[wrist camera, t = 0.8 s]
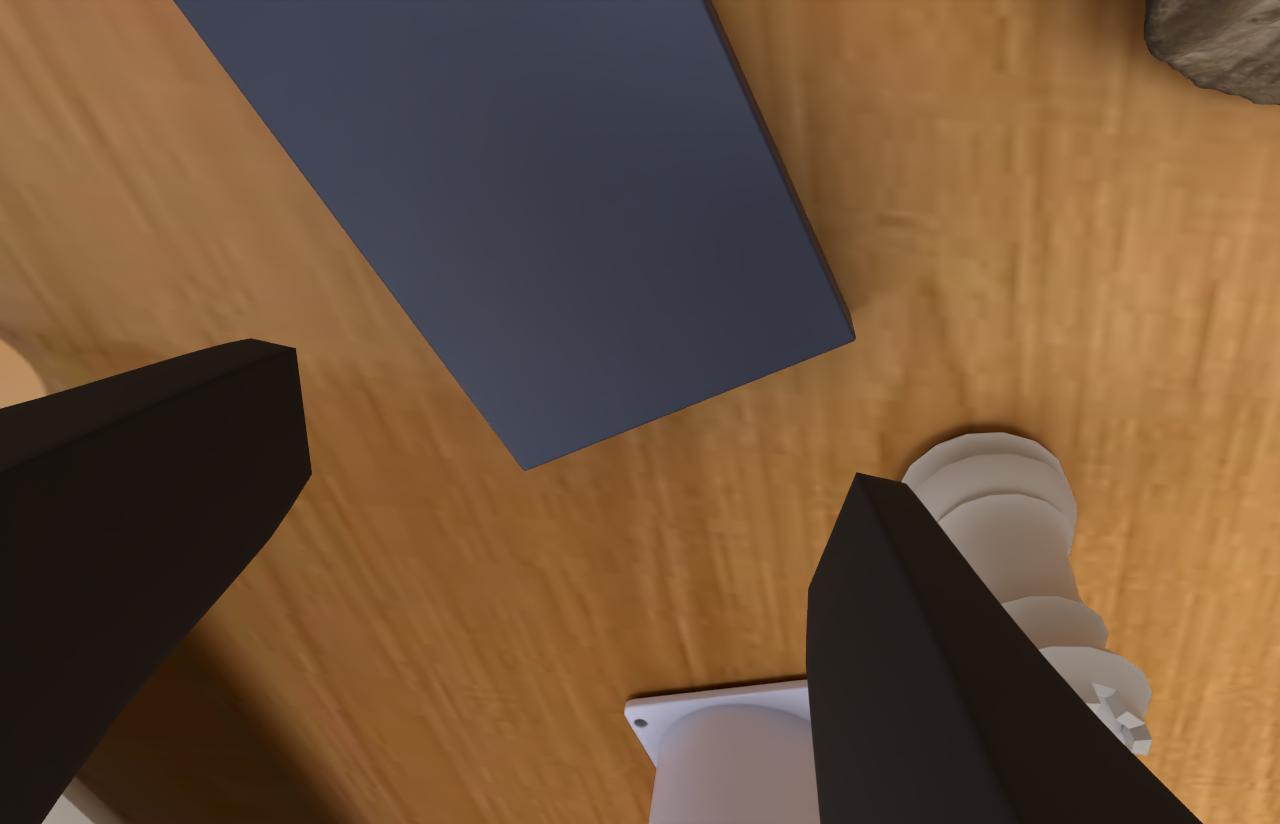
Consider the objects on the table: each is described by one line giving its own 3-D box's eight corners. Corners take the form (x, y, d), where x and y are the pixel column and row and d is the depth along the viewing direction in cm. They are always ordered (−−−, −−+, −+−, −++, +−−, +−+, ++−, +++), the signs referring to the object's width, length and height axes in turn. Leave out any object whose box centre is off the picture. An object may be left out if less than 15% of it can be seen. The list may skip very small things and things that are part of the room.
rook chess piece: (1086, 431, 19) (1262, 688, 12) (1032, 555, 21) (1153, 827, 14) (912, 413, 19) (987, 650, 12) (879, 536, 22) (926, 790, 15)
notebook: (851, 315, 18) (857, 341, 17) (538, 443, 22) (523, 472, 21) (559, -341, 12) (535, -376, 11) (207, -16, 16) (160, -15, 15)
